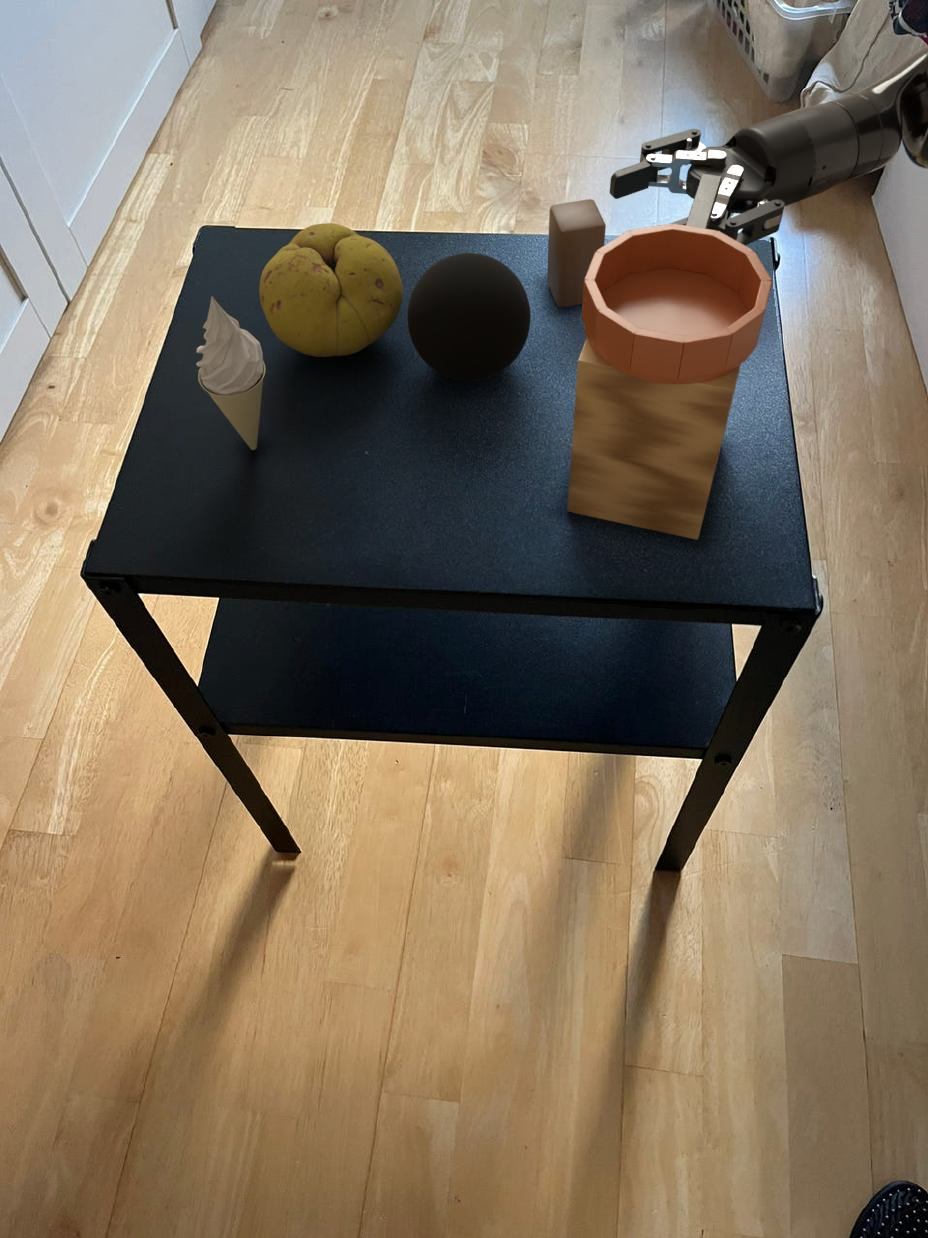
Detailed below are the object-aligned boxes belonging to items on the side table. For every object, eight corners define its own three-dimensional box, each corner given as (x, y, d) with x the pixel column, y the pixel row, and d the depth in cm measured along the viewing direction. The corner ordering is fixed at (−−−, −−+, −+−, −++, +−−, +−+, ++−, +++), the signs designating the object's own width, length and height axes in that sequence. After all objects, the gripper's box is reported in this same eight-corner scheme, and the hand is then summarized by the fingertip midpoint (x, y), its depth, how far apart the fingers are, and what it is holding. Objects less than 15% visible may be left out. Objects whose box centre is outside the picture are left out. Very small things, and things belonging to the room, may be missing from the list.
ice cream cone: (281, 470, 83) (241, 319, 70) (218, 471, 83) (167, 320, 70) (288, 425, 85) (251, 272, 73) (227, 425, 86) (179, 273, 73)
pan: (743, 399, 64) (754, 356, 61) (564, 365, 67) (566, 322, 64) (785, 223, 74) (797, 178, 71) (628, 199, 76) (633, 154, 73)
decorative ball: (465, 310, 93) (461, 210, 84) (553, 359, 89) (558, 260, 80) (388, 370, 89) (375, 272, 80) (476, 424, 85) (472, 326, 76)
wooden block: (545, 282, 94) (548, 203, 88) (588, 274, 95) (594, 196, 88) (557, 310, 92) (560, 231, 86) (600, 302, 93) (607, 223, 86)
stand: (721, 445, 82) (758, 289, 70) (697, 540, 77) (733, 389, 65) (598, 420, 84) (613, 265, 72) (567, 511, 79) (577, 360, 67)
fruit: (272, 305, 94) (249, 207, 86) (401, 291, 94) (391, 192, 86) (274, 391, 88) (249, 293, 80) (412, 375, 88) (402, 277, 80)
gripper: (752, 80, 94) (598, 131, 91) (853, 158, 87) (690, 217, 83) (737, 157, 100) (592, 208, 97) (830, 236, 93) (678, 294, 89)
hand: (638, 212), depth 90 cm, fingers open, 8 cm apart
